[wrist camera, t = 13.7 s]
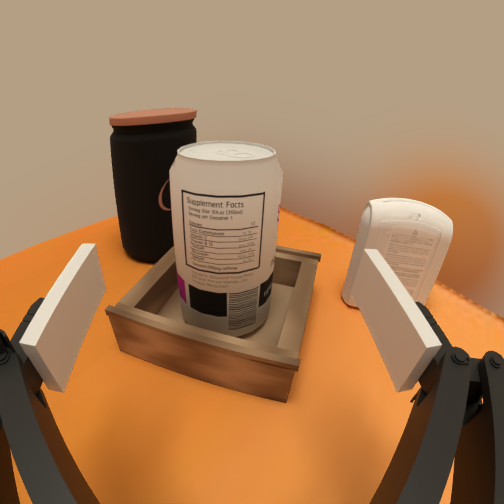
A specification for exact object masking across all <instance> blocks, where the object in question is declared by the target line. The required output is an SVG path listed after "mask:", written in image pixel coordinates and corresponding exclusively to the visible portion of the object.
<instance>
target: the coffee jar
mask: <svg viewBox="0 0 504 504" xmlns="http://www.w3.org/2000/svg"><path fill="white" fill-rule="evenodd" d="M196 112H197V111H196V110H195V109H188V108H167V109H152V110H142V111H134V112H127V113H121V114H117V115H113V116H110V117H109V120H110V125H112V128H113V129H114V132H113V133H112V135H111V136H110V145H111V157H112V168H113V179H114V189H115V197H116V205H117V212H118V219H119V226H120V232H121V238H122V244H123V247H124V249H125V250H126V251H127V252H128V253H129V254H130V255H131V256H132V257H133V258H135V259H137V260H139V261H143V262H149V263H157V262H158V261H159V260H160V259H161V258H162V257H163V256H164V255H165V254H166V253H167V252H168V251H169V250H170V249H171V248H172V247H173V246H174V237H173V225H172V210H171V194H170V174H169V170H170V168H171V166H172V164H173V162H174V160H175V158H176V156H177V150H178V149H179V148H181V147H183V146H186V145H189V144H193V143H196V128H195V127H194V126H193V124H192V122H193V120H194V118H196Z"/></svg>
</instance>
